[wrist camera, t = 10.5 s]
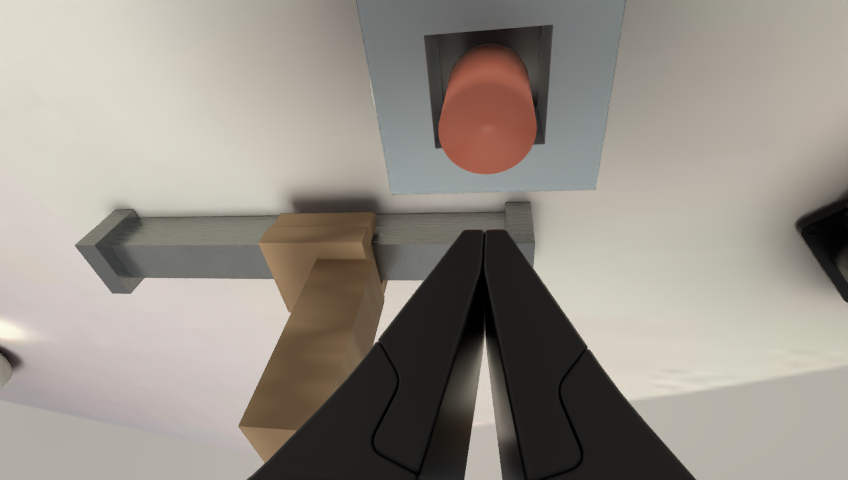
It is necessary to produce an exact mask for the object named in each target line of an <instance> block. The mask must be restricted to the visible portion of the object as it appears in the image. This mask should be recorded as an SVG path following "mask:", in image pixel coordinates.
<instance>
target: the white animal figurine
mask: <svg viewBox="0 0 848 480" xmlns="http://www.w3.org/2000/svg"><path fill="white" fill-rule="evenodd" d="M11 376H12V368H11V366H10V364H9V362H8V360H7V359H6V358H5V357H4V356H3V355H2V354H1V353H0V389H1V388H2V387H3V386H4V385H5V384H6V383H7V382H8V381H9V379H10V378H11Z"/></svg>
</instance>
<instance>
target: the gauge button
mask: <svg viewBox="0 0 848 480" xmlns="http://www.w3.org/2000/svg"><path fill="white" fill-rule="evenodd" d="M536 131H537V123H536V117H535V111H534V105H533V100H532V94H531V88H530V82H529V76H528V71H527V68H526V66H525V64H524V62H523V61H522V59H521V58H520V57H519V56H518V54H516V53H515V52H514V51H513V50H511V49H509V48H507V47H505V46H502V45H498V44H484V45H479V46H476V47H474V48H472V49H470V50H468V51H467V52H465V53H464V54H463V55H462V56H461V57H460V58H459V59H458V60H457V62H456V63H455V65H454V66H453V68H452V71H451V73H450V77H449V82H448V86H447V90H446V95H445V99H444V103H443V108H442V112H441V117H440V121H439V128H438V132H439V140H440V143H441V146H442V148H443V150H444V152H445V154H446V155H447V156H448V158H449V159H450V160H451V161H452V162H453V163H454V164H456V165H457V166H459V167H460V168H462V169H464V170H466V171H469V172H472V173H476V174H495V173H500V172H503V171H506V170H508V169H510V168H512V167H514V166H516V165H517V164H518V163H520V162H521V161H522V160H523V159H524V158H525V157H526V155H527V154H528V153H529V151H530V150H531V148H532V146H533V144H534V141H535V137H536Z"/></svg>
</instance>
